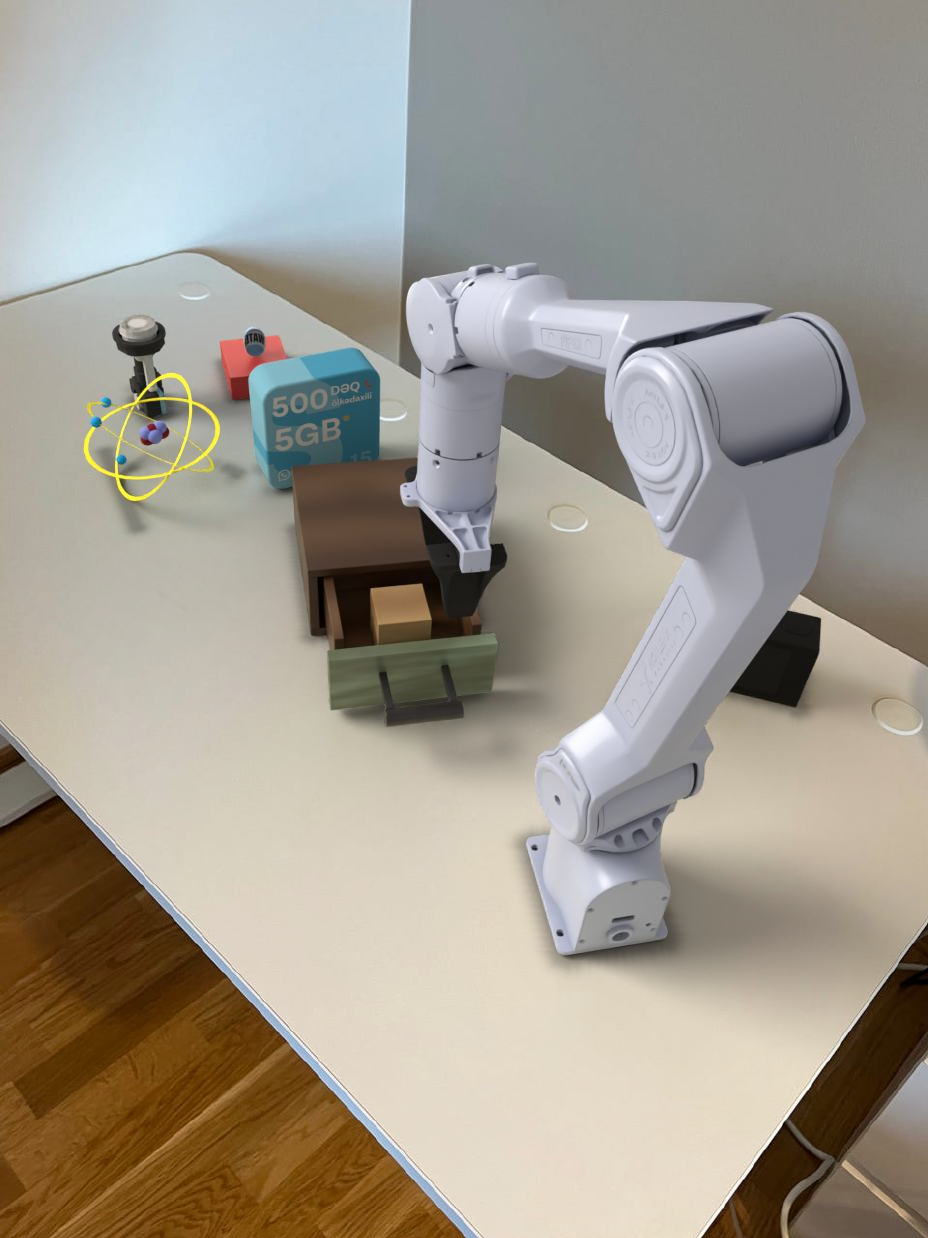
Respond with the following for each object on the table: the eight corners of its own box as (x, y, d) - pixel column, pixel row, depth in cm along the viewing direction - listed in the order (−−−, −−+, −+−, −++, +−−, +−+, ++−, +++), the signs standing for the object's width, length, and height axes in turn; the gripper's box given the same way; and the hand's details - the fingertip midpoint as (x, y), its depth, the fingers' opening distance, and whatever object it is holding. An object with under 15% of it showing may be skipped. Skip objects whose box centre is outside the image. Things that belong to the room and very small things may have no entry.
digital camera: (800, 664, 95) (823, 607, 90) (797, 708, 91) (821, 651, 86) (683, 636, 96) (700, 579, 91) (676, 679, 92) (693, 621, 87)
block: (429, 656, 90) (432, 619, 87) (377, 662, 89) (378, 624, 86) (420, 620, 93) (422, 583, 90) (370, 625, 92) (370, 587, 89)
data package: (269, 493, 107) (261, 389, 99) (255, 468, 110) (246, 365, 102) (380, 467, 111) (381, 366, 103) (363, 443, 114) (363, 343, 106)
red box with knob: (221, 362, 124) (216, 312, 120) (280, 356, 126) (277, 307, 121) (232, 399, 119) (227, 349, 114) (293, 392, 120) (290, 342, 116)
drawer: (506, 740, 85) (513, 692, 81) (338, 761, 83) (337, 712, 78) (459, 583, 98) (463, 534, 94) (312, 597, 95) (310, 547, 91)
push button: (114, 394, 118) (98, 311, 111) (160, 382, 120) (147, 300, 113) (136, 424, 114) (121, 340, 107) (183, 411, 116) (172, 328, 109)
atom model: (66, 439, 110) (192, 395, 115) (123, 557, 106) (252, 507, 110) (38, 357, 98) (181, 311, 102) (101, 486, 94) (248, 432, 98)
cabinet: (473, 619, 96) (480, 555, 91) (310, 635, 93) (307, 570, 88) (442, 517, 106) (446, 454, 101) (295, 529, 103) (291, 465, 98)
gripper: (386, 384, 79) (384, 527, 88) (422, 505, 69) (415, 651, 78) (478, 378, 80) (467, 520, 90) (527, 496, 70) (508, 641, 80)
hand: (449, 581), depth 84 cm, fingers open, 7 cm apart
